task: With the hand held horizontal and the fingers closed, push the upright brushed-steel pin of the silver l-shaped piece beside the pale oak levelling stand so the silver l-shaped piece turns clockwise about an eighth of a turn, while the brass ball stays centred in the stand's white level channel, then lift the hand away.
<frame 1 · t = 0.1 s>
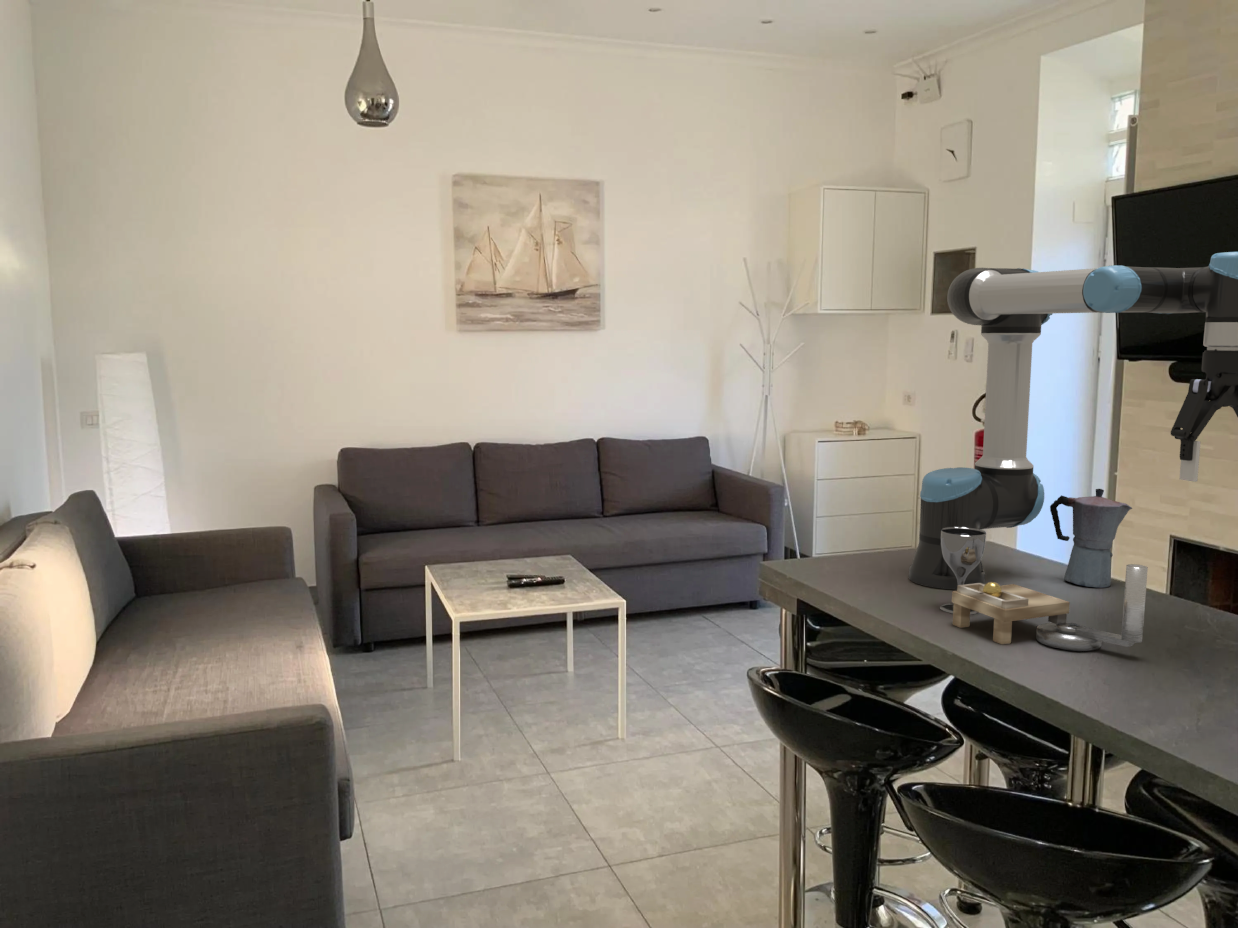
hand: (1218, 478, 163), 28 cm above the table, tool pointing down, fingers open, 13 cm apart
stand: (1007, 629, 174), on the table
moka pot: (1085, 584, 206), on the table
ball: (992, 590, 171), point 7 cm above the table, touching stand
silver l-shaped piece: (1090, 602, 163), point 8 cm above the table, hinge at 20.0°
wine glass: (959, 610, 186), on the table
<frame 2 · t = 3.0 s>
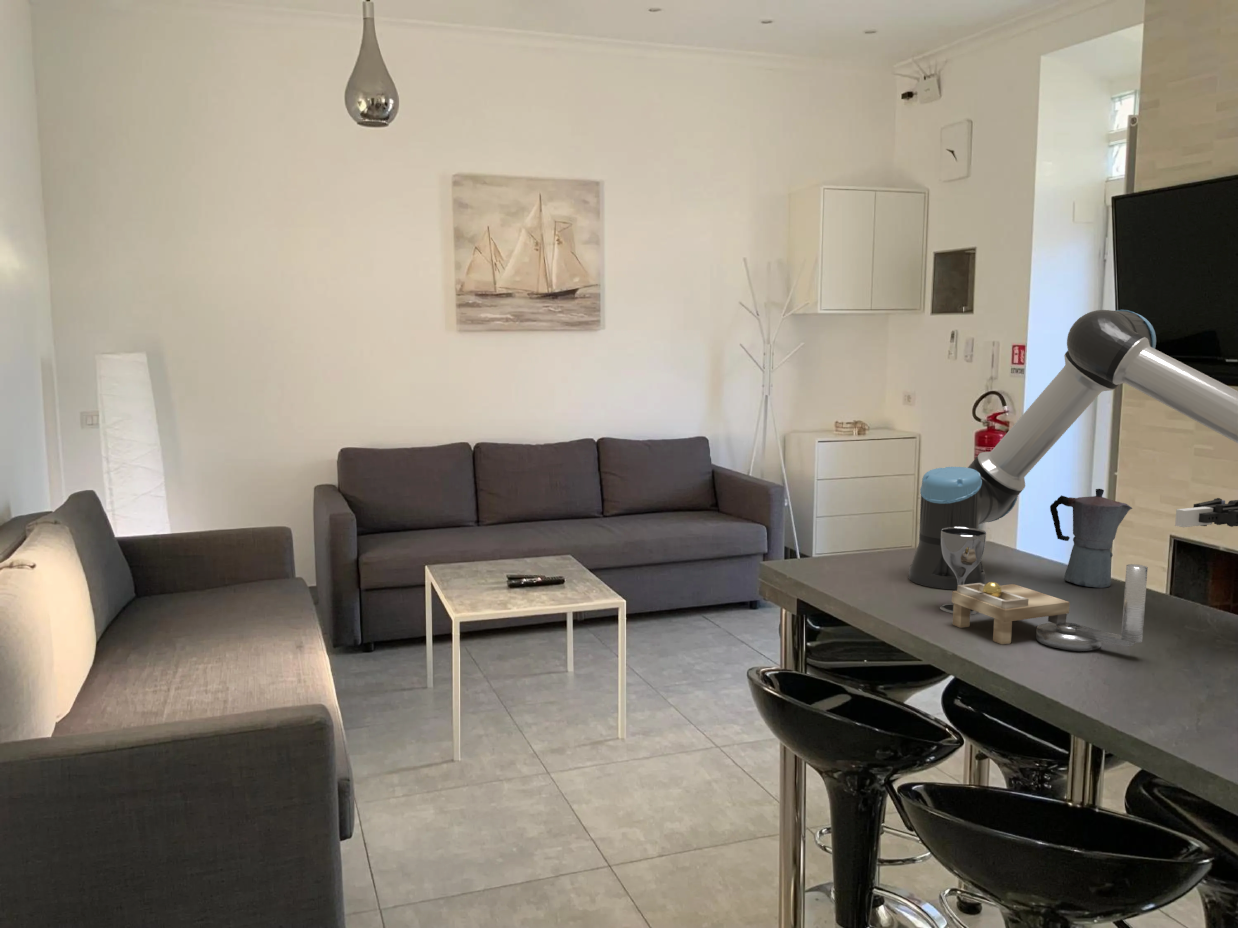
hand: (1179, 518, 159), 22 cm above the table, tool horizontal, fingers closed
nothing on the table moved.
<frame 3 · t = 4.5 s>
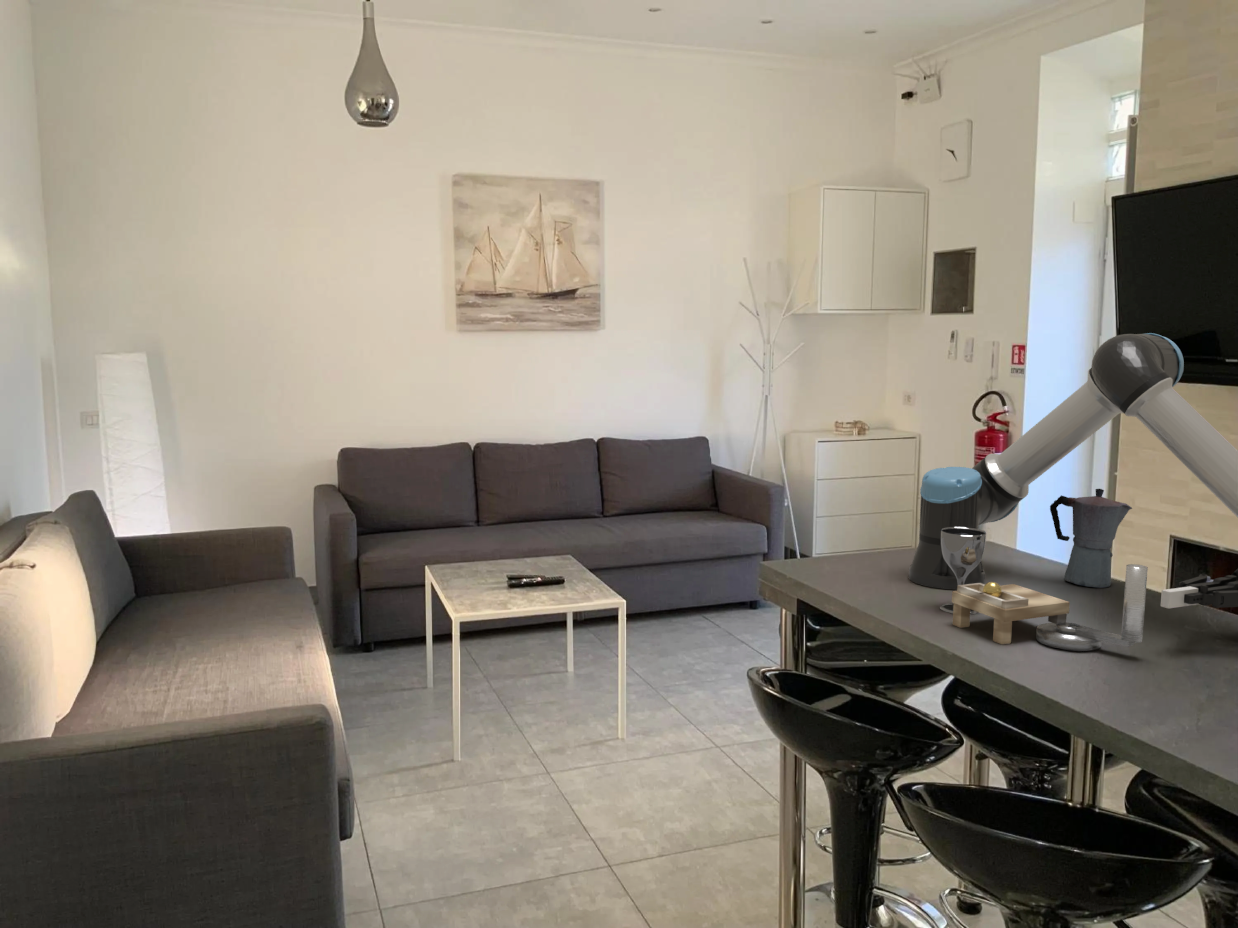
hand: (1165, 599, 160), 9 cm above the table, tool horizontal, fingers closed
nothing on the table moved.
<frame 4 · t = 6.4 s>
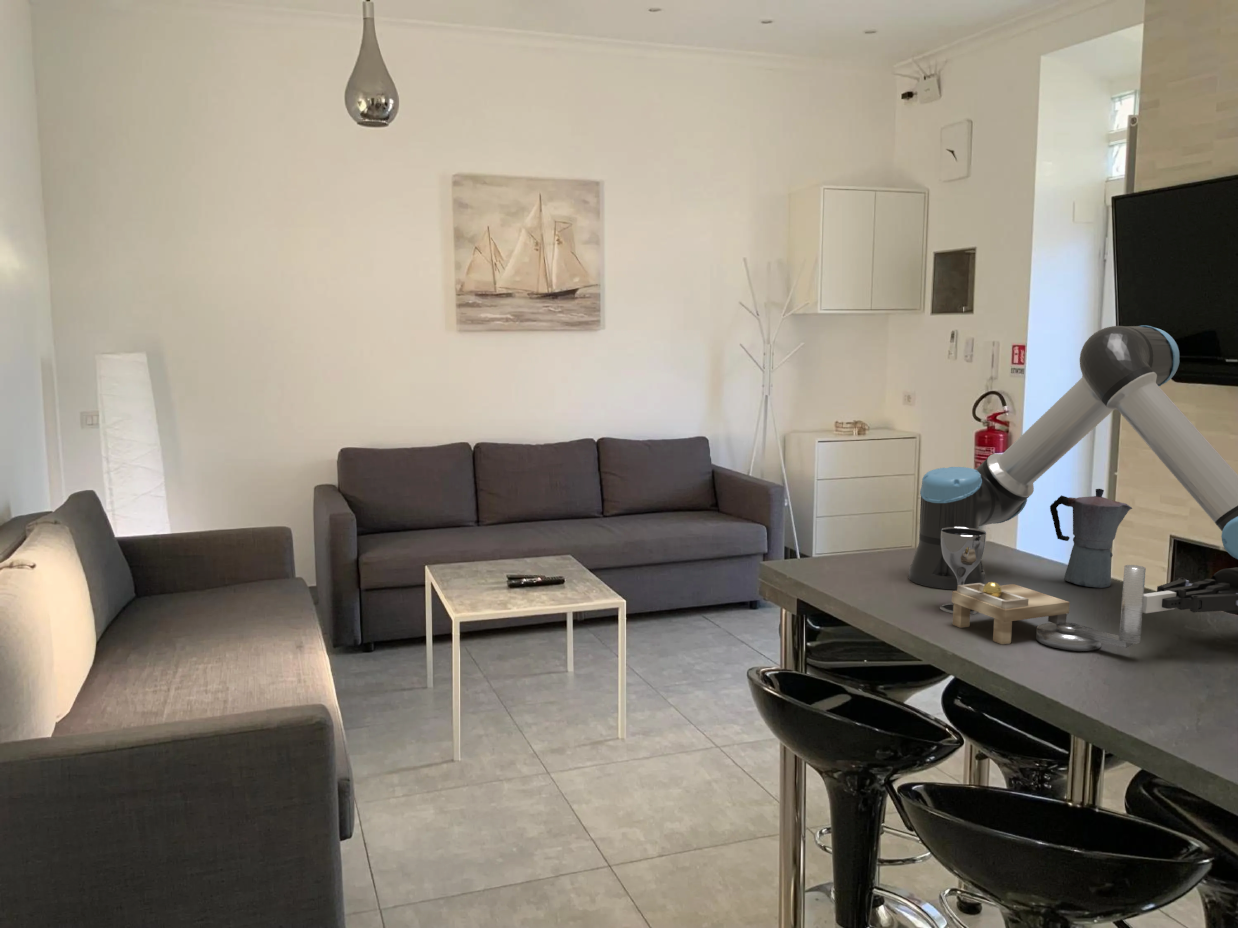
hand: (1142, 603, 157), 9 cm above the table, tool horizontal, fingers closed
silver l-shaped piece: (1089, 602, 163), point 8 cm above the table, hinge at 15.7°, touching gripper
everything else where it was.
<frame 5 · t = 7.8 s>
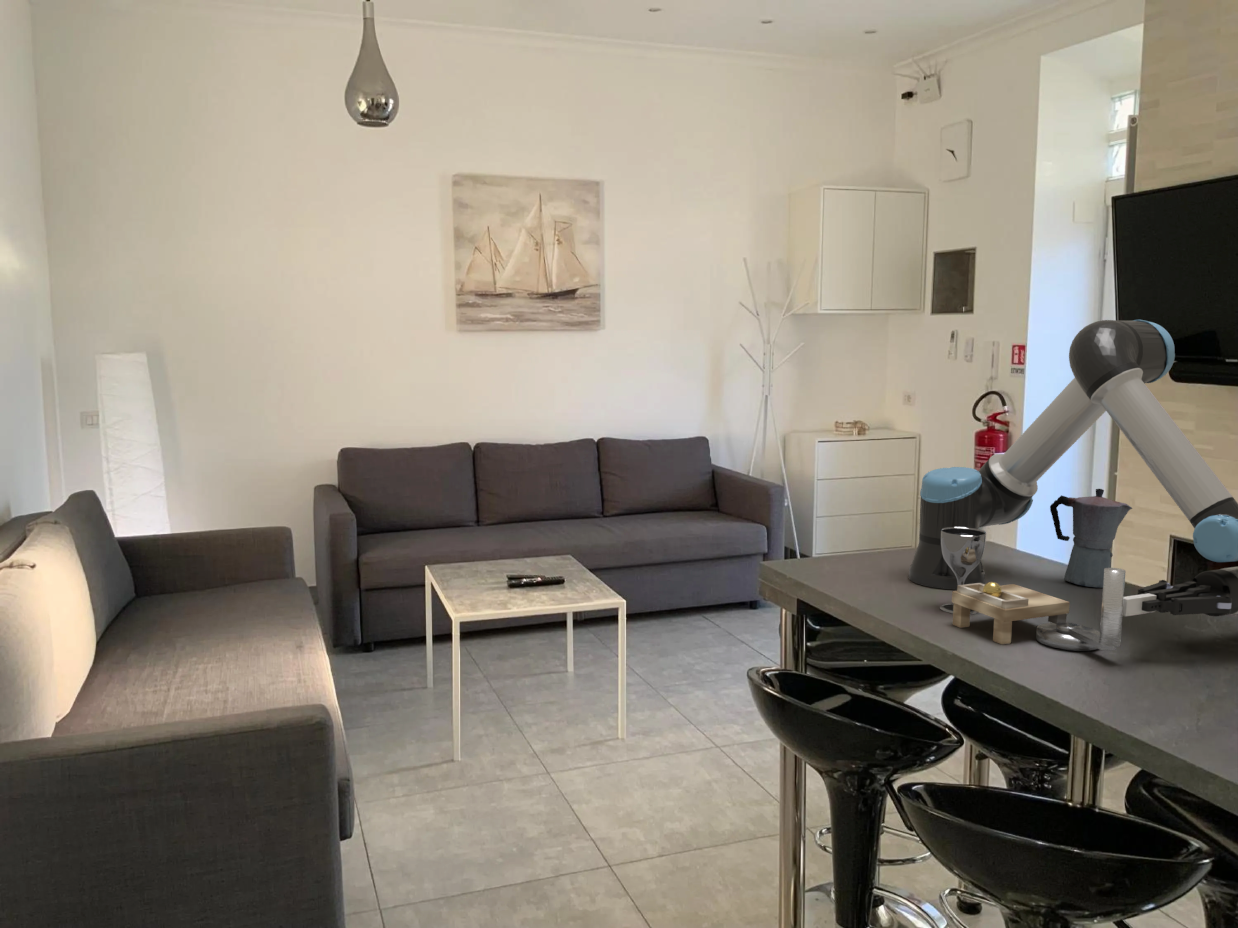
hand: (1122, 606, 156), 9 cm above the table, tool horizontal, fingers closed
silver l-shaped piece: (1083, 603, 162), point 8 cm above the table, hinge at -10.5°, touching gripper
everything else where it was.
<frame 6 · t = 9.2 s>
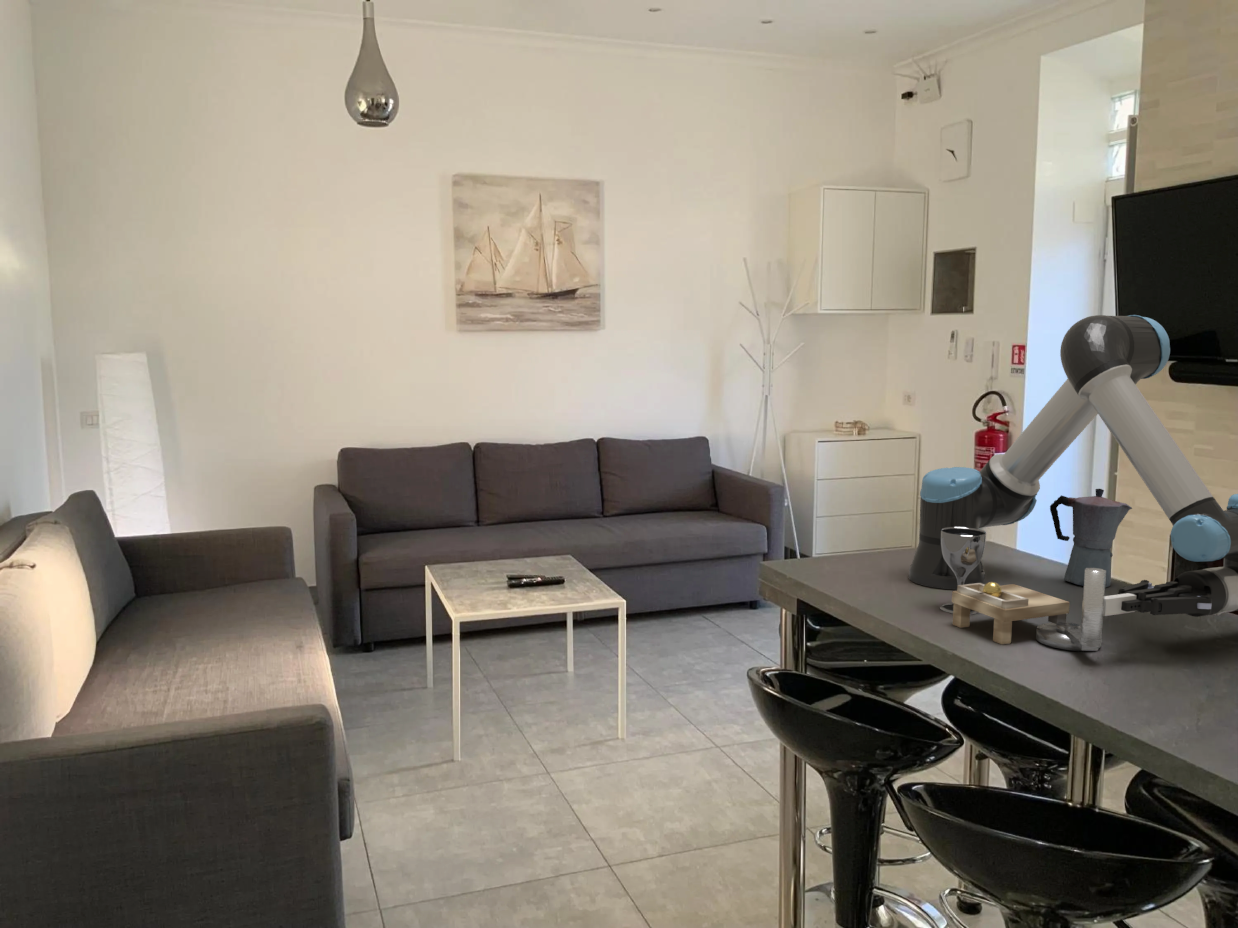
hand: (1101, 606, 156), 9 cm above the table, tool horizontal, fingers closed
silver l-shaped piece: (1077, 603, 162), point 8 cm above the table, hinge at -28.3°, touching gripper
everything else where it was.
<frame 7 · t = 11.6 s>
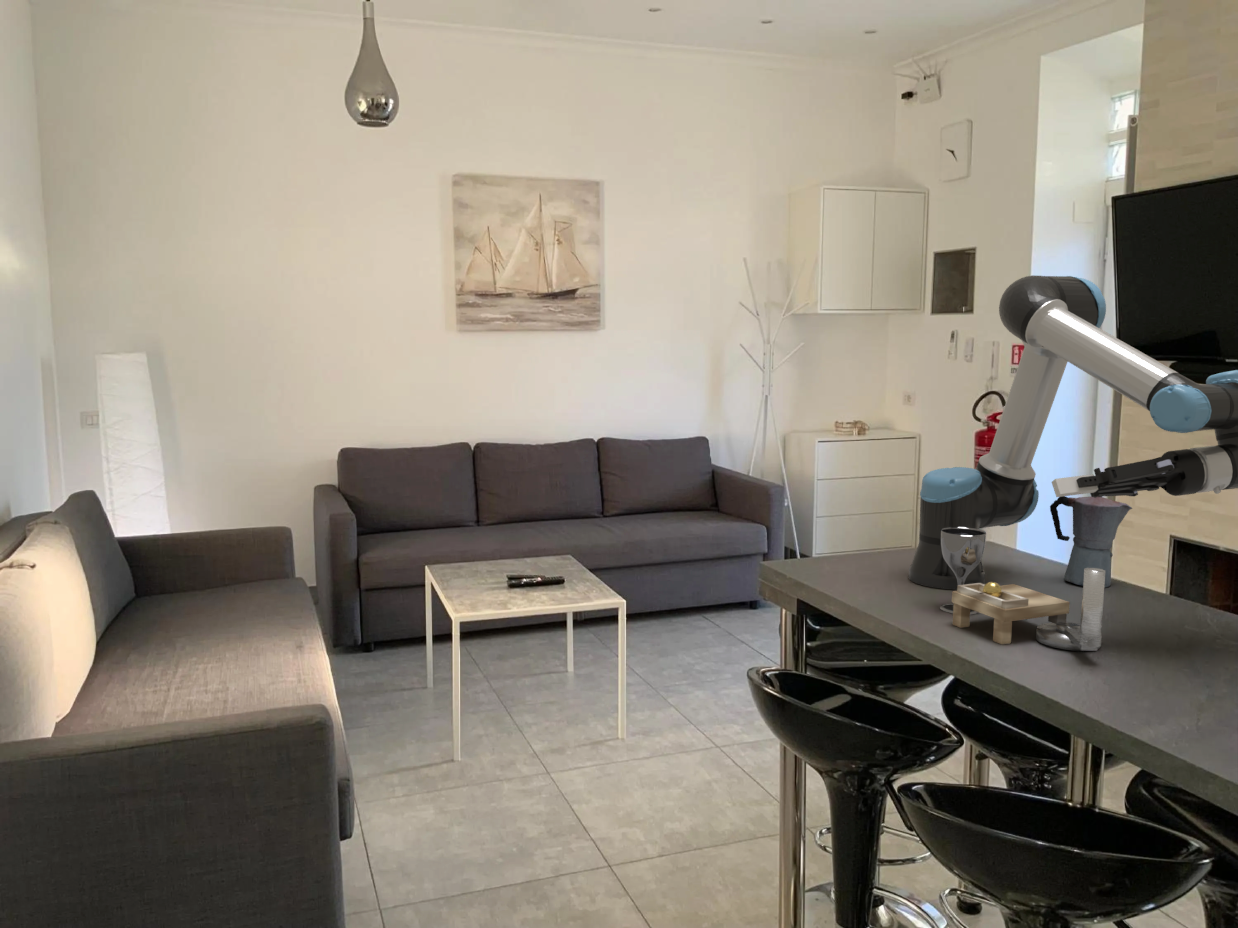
hand: (1056, 488, 163), 26 cm above the table, tool horizontal, fingers closed
silver l-shaped piece: (1077, 603, 162), point 8 cm above the table, hinge at -28.9°
everything else where it was.
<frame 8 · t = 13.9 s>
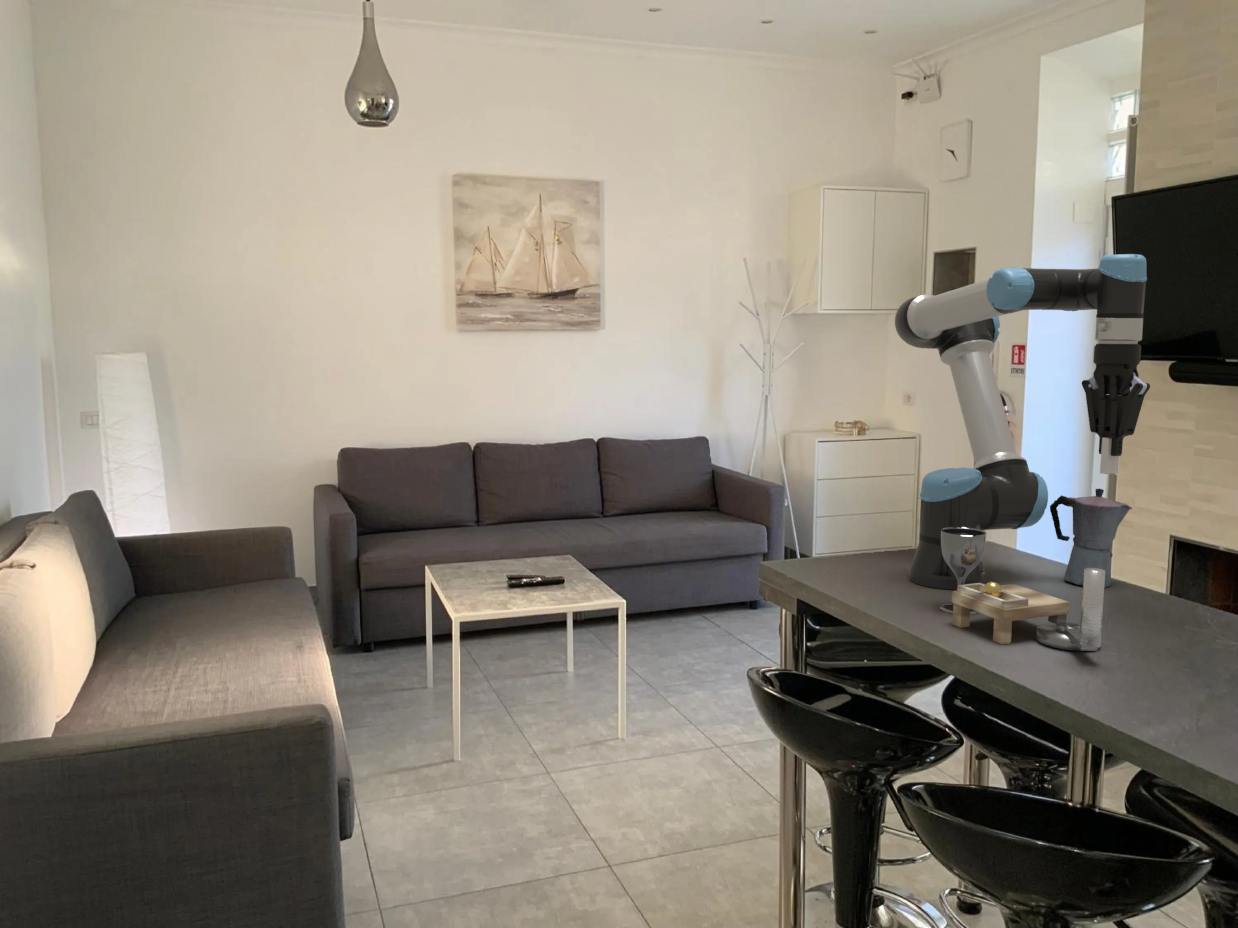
hand: (1108, 473, 180), 26 cm above the table, tool pointing down, fingers closed
nothing on the table moved.
at the end: silver l-shaped piece at -29° (first picture: +20°); ball 0.0 cm from the target spot on the stand, point 7.5 cm above the stand's base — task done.
